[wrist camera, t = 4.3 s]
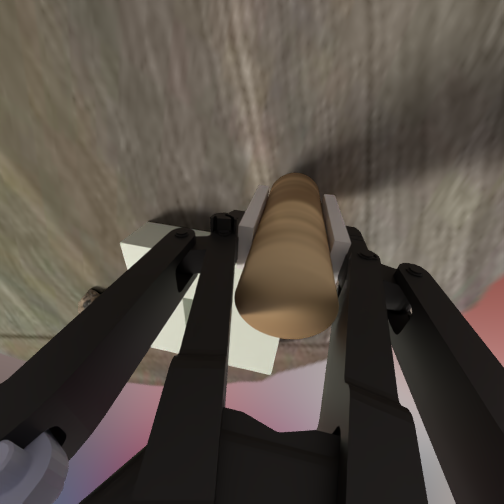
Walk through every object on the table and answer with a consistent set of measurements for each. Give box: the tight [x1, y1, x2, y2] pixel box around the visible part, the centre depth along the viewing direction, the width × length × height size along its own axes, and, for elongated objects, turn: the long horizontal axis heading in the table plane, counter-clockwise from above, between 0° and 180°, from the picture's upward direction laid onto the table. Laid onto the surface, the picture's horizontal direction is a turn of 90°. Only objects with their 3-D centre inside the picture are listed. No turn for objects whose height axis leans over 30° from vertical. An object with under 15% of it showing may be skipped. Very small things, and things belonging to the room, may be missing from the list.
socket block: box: [120, 222, 279, 375], centre depth 26 cm, size 16×16×4 cm
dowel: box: [234, 173, 339, 339], centre depth 14 cm, size 4×4×12 cm
